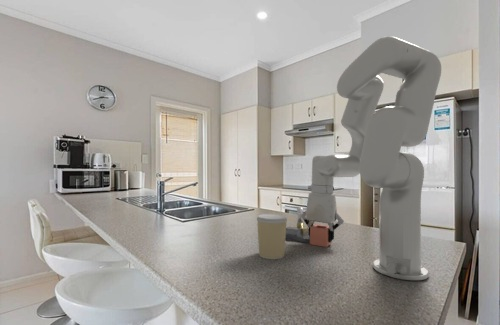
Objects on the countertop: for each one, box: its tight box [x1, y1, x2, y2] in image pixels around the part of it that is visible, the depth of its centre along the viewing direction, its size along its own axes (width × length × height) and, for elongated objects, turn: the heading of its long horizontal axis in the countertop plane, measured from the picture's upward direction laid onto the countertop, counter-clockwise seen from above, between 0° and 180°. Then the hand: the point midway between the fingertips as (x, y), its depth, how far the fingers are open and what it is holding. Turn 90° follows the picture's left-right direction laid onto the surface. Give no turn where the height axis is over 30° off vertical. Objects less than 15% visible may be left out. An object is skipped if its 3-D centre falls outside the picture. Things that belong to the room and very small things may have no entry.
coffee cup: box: [256, 213, 288, 260], centre depth 80 cm, size 9×9×12 cm
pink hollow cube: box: [309, 223, 332, 248], centre depth 93 cm, size 6×6×6 cm
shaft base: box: [285, 206, 310, 244], centre depth 103 cm, size 16×13×11 cm
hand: (320, 239), depth 93 cm, fingers closed on pink hollow cube, 6 cm apart
